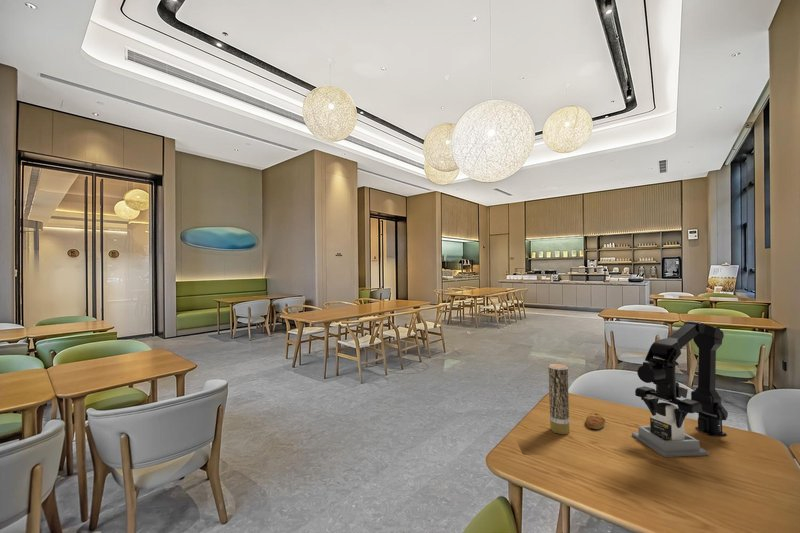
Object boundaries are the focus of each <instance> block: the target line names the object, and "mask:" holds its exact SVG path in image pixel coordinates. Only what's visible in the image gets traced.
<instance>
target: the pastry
mask: <svg viewBox="0 0 800 533" xmlns="http://www.w3.org/2000/svg"><path fill="white" fill-rule="evenodd" d="M585 422H586V423H585V424H586V426H587V428H589V429H594V430H600V429H603V428H604V426H605V424H606V420H605V418H604V417H603V416H602V415H601V414H600V413H597V412H593V413H592V412H590V413H589V414H588V415H587V416H586V418H585Z"/></svg>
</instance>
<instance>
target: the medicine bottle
mask: <svg viewBox="0 0 800 533" xmlns="http://www.w3.org/2000/svg"><path fill="white" fill-rule="evenodd" d="M677 408H678V406H675V404H673V403H669V402H665V401H664V402H658V403H657V404H656V415H654V416H653V415H650V416H649V424H650V425H649V426H650V430H651V432H652V433H653V434H655V435H656V436H658V437H660V438H661V439H663V440H665V441H668V440H685V433H686V432H685V420H684V421H683V423H682V425H681V427H680V428H678V427H677V424H676V418H675V411H674V409H677Z"/></svg>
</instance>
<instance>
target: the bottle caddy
mask: <svg viewBox="0 0 800 533" xmlns="http://www.w3.org/2000/svg"><path fill="white" fill-rule="evenodd" d="M631 436H632V437H633V438H635V439H637V440H638V441H640V442H642V443H643V444H644V445H645V446H648V448H650V449H652V450H653V451H655V452H656V453H657V454H659V455H660V456H662V457H665V458H668V457H669V458H670V457H671V458H672V457H691V456H692V457H697V456H709V452H708V451H707V450H705V449H704V448H702V447H701V446H700V444H701V443H700V440H698V439H697V438H695V437H693V436H691V435H689V434H687V433H686V432H685V440H668V441H665V440H663V439H661V438H660V437H658V436H656V435H655V434H653V433H652V432H651V430H650V425H642V426H641V425H638V432H631Z"/></svg>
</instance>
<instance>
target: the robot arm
mask: <svg viewBox="0 0 800 533" xmlns="http://www.w3.org/2000/svg"><path fill="white" fill-rule="evenodd" d="M724 336H725V335H724V332H723V331H722V330H721V329H720V328H719V327H718V326H711V325H709V324H705V323H703V322H700V321H693V320H687V321H685V322H684V323H683V325H682V326H681V327H679V328H678V329H676V331H674V332H673V333H672V334H671V335H669V336H668V337H667V338H663V339H662V338H661V339H658V340H655V341H654V342H652V344H651V345H650V347H649V350H648V351H647V354H646V356H645V358H644V361H643V362H642V365H641V366H639V367H638V368H637V371H636V373H637V376H638V378H639V379H640V380H641V381H642V382H643V383H647V384H651V383H653V385H655V388H653V387H649V386H645V385H644V386H640V387H637V388H635V391H634V393H635V394H634V395H635V396H636V397H638V398H640V399H641V401H643V402H644V404H645V405H646V406H647V408H648V410H649V413H651V416H654V415H656V404H657V403H659V400H660V401H664V402H665V403H669V404H672V405H677V409H674V411H675V418H676V424H677V427H678V428H680V427H681V425H682V423H683V421H684V422H685V418H686V417H687V415H688V414H695V413H697V415H698V417H697V426H694V429H696V430H698V431H700V432H702V433H704V434H706V435H708V436H710V437H714V436H716V437H717V436H728V435H727V433H726V432H724V431H723V421H727V419H728V416H729V412H728V411H727V410H726V408H725V407H724V405H722V398H721V396H720V394H719V393H718V391H717V390H716V375H717V374H716V365H717V363H716V362H717V360H716V359H717V357H716V356H717V350H718V349H719V348H720V347H721V346H722V344H723V339H724ZM692 340H693V342H694V344H695V346H697V348H698V364H697V366H698V368H697V369H698V370H697V371H698V372H697V387H696V388H695V389H694V390H692V391H691V392H690V398H687V396H688V391H689V390H688V388H685V387H681V386H680V383H679V382H678V381H677V378H676V377H677V376H676V375H677V374H676V366H677V367H678V366H679V362H678V361H677V360H678V358H679V357H680V356H681V355H682V349H683V347H685V346H686V345H687V344H688V343H689V342H691V341H692ZM680 398H684V399H680ZM718 425H720V426H718Z"/></svg>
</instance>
